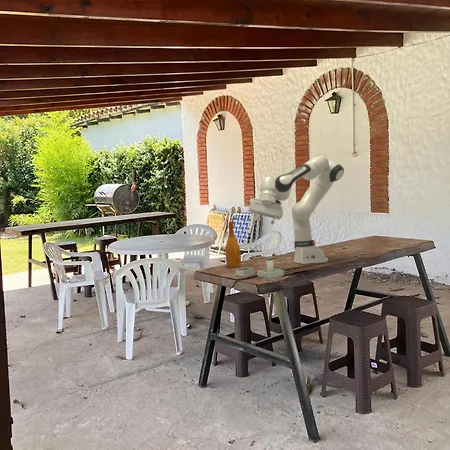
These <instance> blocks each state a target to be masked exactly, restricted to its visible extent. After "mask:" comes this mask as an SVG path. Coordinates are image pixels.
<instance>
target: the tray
mask: <svg viewBox="0 0 450 450" xmlns="http://www.w3.org/2000/svg"><path fill="white" fill-rule="evenodd" d="M256 272H257V277H259V278H265V279H273V278H278V277H284V276H285V270H284V269H280V268H274V272H271V273H268V272H267V268H266V269H260V270H257V271H256Z"/></svg>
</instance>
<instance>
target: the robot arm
mask: <svg viewBox="0 0 450 450" xmlns="http://www.w3.org/2000/svg"><path fill="white" fill-rule="evenodd" d="M344 173H345V169H344V167H343V166H342V165H341V164H339V163H338V162H337V161H335V160H334V159H332V158H330V157H328V156H326V155H325V154H320V153H319V154H317V155H315V156H314V157H312V158H311V159H309V160H308V161H306V162H305V163H303V164H301V165H299V166H297V167H295V168H294V169H293V170H291V171H289V172H287V173H284V174H281V175H278V176H277V177H276V178H275V177H273V176H266V177H264V178H262V179H261V181H260V182H261V184H260V187H259V188H260V189H259V191H260V195H259V198H253V197H252V198H250V199H249V207H248V212H249V213H250V214H254V217H255V221H260V216H264V217H266V218H267V217H268V218H271V219H272V220H270V221H271V222H270V224H271V225H274V224H275V221H276V220H280V219H282V217H283V215H284V214H283V213H284V211H283V209H284V208H283V207H282V204H283V203H282V201H286V200H288V199H289V197H290V194H291V189H292V186H293V185H294V183H295V182H296V181H298V180H299V179H302V178H303V179H304V180H306V181H311V180H312V181H313V180H314V181H313V183H311V185H309V187H308V189H307V190H306V191H305V192H304V195H303V196H302V197H301V199H300V201H298V202H295V203H294V204H293V205H292V207H291V216H292V217H291V218H292V224H293V231H294V233H293V234H294V240H293V241H294V242H293V246H294V247H293V248H294V258H293V263H295V264H302V265H304V264H306V265H308V264H319V263H327V262H329V258H328V257H326V256H325V253H324V252H325V251H324V250H322V249H321V248H320V247H318V246H317V245H316V241H315V240H314V239H312V227H311V222H310V217H311V216H312V215H313V213H314V212H315V210H316V208H317V206H318V205H319V204H320V202H321V201H322V199H323V198H324V197H325V195H326V194H327V193H328V192H329V190H331V187H332V186H333V184H334V182H337V181H339V180H341V178H342V177H344V176H343V175H344ZM315 178H316V179H315ZM258 215H259V216H258Z"/></svg>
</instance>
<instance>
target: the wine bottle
mask: <svg viewBox="0 0 450 450" xmlns="http://www.w3.org/2000/svg"><path fill="white" fill-rule="evenodd" d="M227 224H228V229H229V230H228V232H229V233H228V238H227V241H226V243H225V244H226V245H225V248H224V249H225V251H224V252H225V261H226V266H227V267H228V268H239V267H241V265H242V261H241V260H242V257H241V247H240V244H239V242H238V238H237V236H236V235H235V233H234V222H233V221H228V223H227Z"/></svg>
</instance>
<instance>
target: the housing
mask: <svg viewBox="0 0 450 450" xmlns="http://www.w3.org/2000/svg"><path fill="white" fill-rule="evenodd" d="M237 275H238V277H242V276H243V277H244V278H246V277H250V276H254V275H255V269H254V268H252V267H251V268H250V267H247V266H246V267H241V268H237V269H235V276H237Z"/></svg>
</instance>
